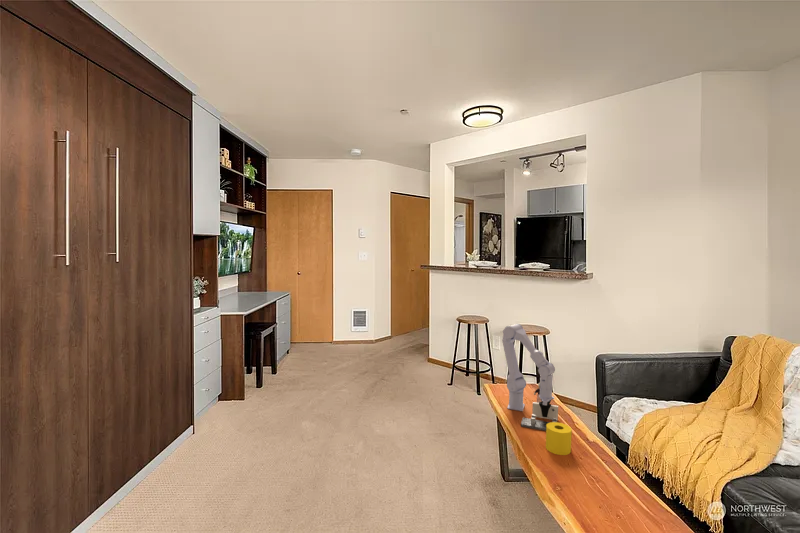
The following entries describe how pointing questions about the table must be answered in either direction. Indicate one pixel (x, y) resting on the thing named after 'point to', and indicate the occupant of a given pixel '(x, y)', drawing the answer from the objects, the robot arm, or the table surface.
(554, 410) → the cabinet door
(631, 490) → the table surface
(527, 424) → the rail
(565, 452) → the tape roll
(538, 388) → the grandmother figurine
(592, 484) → the table surface
